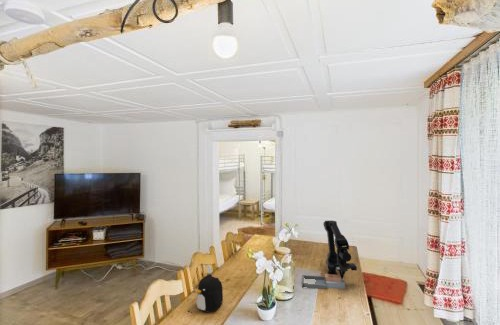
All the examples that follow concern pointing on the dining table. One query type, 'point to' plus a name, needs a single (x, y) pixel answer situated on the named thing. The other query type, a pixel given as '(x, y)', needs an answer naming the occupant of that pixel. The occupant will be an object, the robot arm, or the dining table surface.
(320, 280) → the tray
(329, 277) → the tile
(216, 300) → the penguin
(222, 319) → the dining table surface
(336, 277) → the tile
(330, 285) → the light grey slab
